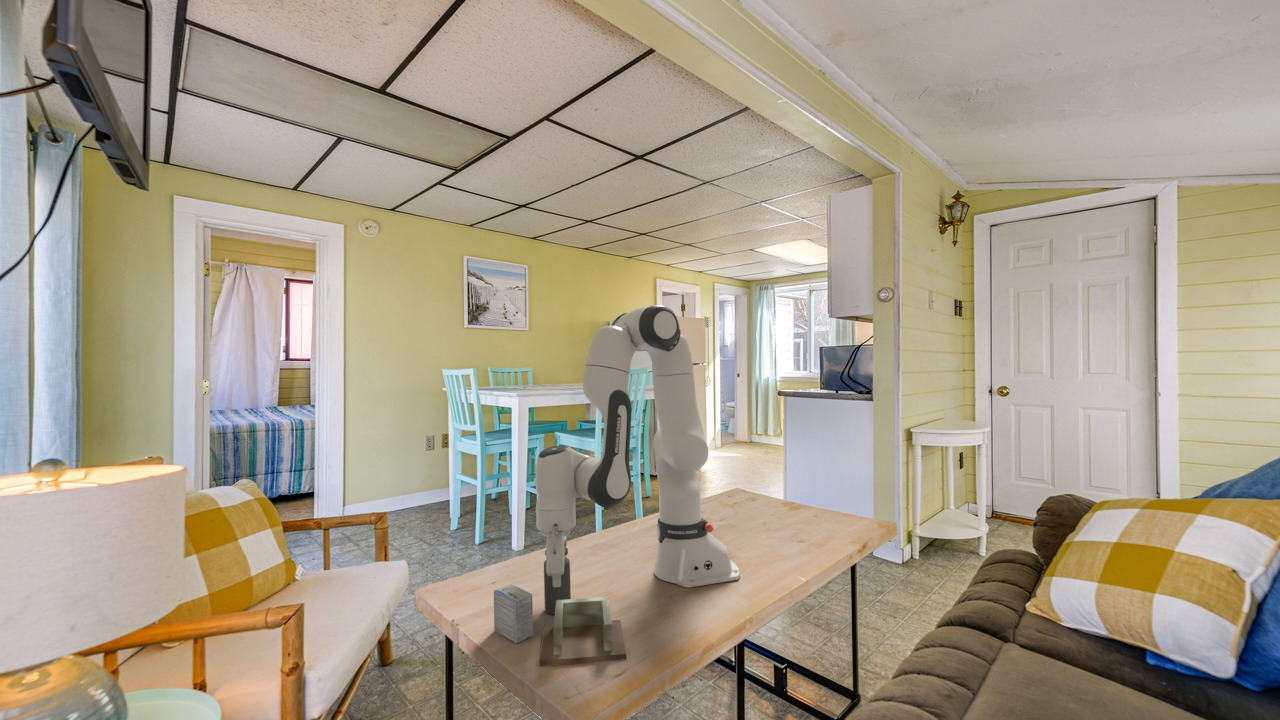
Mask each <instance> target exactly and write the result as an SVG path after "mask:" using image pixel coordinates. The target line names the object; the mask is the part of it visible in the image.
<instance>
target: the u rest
mask: <svg viewBox="0 0 1280 720" xmlns="http://www.w3.org/2000/svg"><path fill="white" fill-rule="evenodd" d="M624 639H625V637H624V633H623V627H622V621H621V619H612V613H611V606H610V597H609V596H599V597H598V596H597V597H585V598H584V597H583V598H571V599H567V600H556V608H555V614H554V620H553V623H552V624H544V626H543V633H542V639H541V640H542V641H541V642H542V643H541V648H540V655H539V667H544V666H545V667H548V666H560V665H573V664H583V663H584V664H585V663H596V662H598V663H599V662H607V661H608V662H609V661H621V660H622V659H623V660H627V651H626V645H625V640H624Z"/></svg>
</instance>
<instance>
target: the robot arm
mask: <svg viewBox="0 0 1280 720" xmlns="http://www.w3.org/2000/svg"><path fill="white" fill-rule="evenodd" d="M636 352H647V354H648V356H649V357H650V360H651V372H652V375H651V376H652V385H653V386H652V389H653V398H654V407H655V409H656V414H657V418H658V422H659V423H658V424H659V429H657V431H656V432H655V434H654V436H653V447H654V448H653V449H654V460H655V469H656V477H657V485H658V506H659V507H658V512H659V513H658V514H659V516H658V518H657V531H656V532H657V540H658V546H657V555H656V562H655V566H654V569H653V574H654V575H655V576H656V577H657V578H658V579H660V580H661V581H664V582H668V583H671V584H676V585H679V586H680V587H683V588H694V587H701V586H706V585H712V584H719V583H726V582H731V581H737V580H739V579H740V576H741V571H740V568H739V567H738V565H737V564H736V563H735V562H734V561H733V560H731V558H730V557H731V556H730V553H729V550H728V548H727V547H726V545H724V543H722V541H720V540H718V539H717V538H716V537H715V536H714V535H712V534H711V533H712V532H713V531H714V526H713V524H712V523H711V522H708V520H706V519H704V517H702V513H701V512H702V510H701V507H702V506H701V488H700V485H699V484H700V483H699V481H698V475H697V471H699V470H700V469H702V468H703V466H705V465H706V462H708V458H709V447H708V445H707V442H706V438H705V435H704V430H703V424H702V421H701V417H700V412H699V408H698V403H697V395H696V386H695V374H694V373H695V372H694V364H693V359H692V353H691V350H690V345H689V342H688V339H687V338H686V337H685V336H684V335H682V334H681V329H680V324H679V320H678V317H677V315H676V314H675V312H674V311H673V310H672V309H671V308H670V307H668V306H666V305H660V304H659V305H658V304H654V305H649V306H642V307H637V308H635V309H632V310H631V311H628V312H624V313H622V314H620V315H619V316H617V317H616V318H615V319H614V320H613V322H612V323H611V325H604V326H601V327H599V328H598V329H597V330H596V331H595V333H594V334H593V338H592V340H591V342H590V346H589V348H588V351H587V355H586V356H587V357H586V360H585V365H584V370H583V375H582V390H583V393H584V395H585V397H586V398H587V400H588V401H589V402H590V403H591V404H592V405H593V406H594V407H595V408H596V409H597V410H598V411H599V412H600V414H601V416H602V419H603V425H604V426H603V427H604V428H603V436H602V437H603V438H602V440H603V441H602V449H601V450H602V451H601V458H598V457H596V456H590V455H587V454H585V453H584V454H583V453H582V452H579V451H578V450H575V449H573V448H571V446H569V445H565V444H560V445H553V446H549V447H547V448H545V449H542V451H540V453H539V454H538V456H537V460H536V465H535V491H536V494H537V498H536V499H537V500H536V504H535V514H536V515H535V516H536V519H535V521H536V529H537V530H538V531H540V532H542V533H541V535H542V536H543V537H545V538H546V541H545V551H546V555H545V560H546V572H547V575H548V576H552V581H553V587H560V586H561V575H563V573H564V564H565V546H564V542H565V540H566V541H567V537H568V536H569V534H570V533H571V529H573V528H574V527H575V526H576V525H577V522H576V519H577V517H576V515H577V514H576V500H577V499H579V498H583V499H585V500H588V501H592V502H593V503H594V504H596V505H598V506H600V507H601V508H604V509H612V508H615V507H617V506H620V504H622V503H623V502H624V501H625V500H626V498H627V497H628V495H629V493H630V491H631V487H632V475H631V473H632V472H631V467H630V444H631V443H630V442H631V428H632V404H631V403H632V402H631V398H630V396H629V378H630V373H631V372H630V370H631V363H632V359H633V357H634V355H635V353H636ZM553 553H554V554H553ZM555 553H556V554H555Z"/></svg>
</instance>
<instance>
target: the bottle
mask: <svg viewBox="0 0 1280 720" xmlns="http://www.w3.org/2000/svg"><path fill="white" fill-rule="evenodd" d="M567 543H568V541H567V539H566V540H565V542H564V546H565V564H564V573H563V575H561V586H560V587H553V581H552V576H548V575H547V572H546V559H545V561H544V562H543V582H544V585H543V587H544V588H543V590H544V593H543V594H544V610H545V612H546V613H547V614H549V615H555V608H556V600H567V599H572V597H571V593H572V592H571V566H570V564H571V562H570V559H569V558H568V557H567V556H568V554H569V549H568V547H567ZM544 553H545V554H544V555H545V556H546V550H545V551H544ZM553 554H554V553H553ZM555 554H556V553H555Z"/></svg>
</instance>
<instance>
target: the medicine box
mask: <svg viewBox="0 0 1280 720" xmlns="http://www.w3.org/2000/svg"><path fill="white" fill-rule="evenodd" d="M533 605H534V604H533V594H532V593H531V592H529V591H527V590H524V589H523V588H521V587H519V586H516V585H515V584H512V583H510V584H509V583H508V584H507V585H504V586H501V587H499V588H497V589H495V590H493V620H494V621H493V622H494V623H493V626H494V629H493V630H494V631H495V632H496V633H498V634H499V635H500V636H503V637H505V638H506V639H508V640H509V641H510V642H513V643H514V644H518V643H520V642H523V641H524V640H526V639H528V638H530V637H533V636H534V609H533Z"/></svg>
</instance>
